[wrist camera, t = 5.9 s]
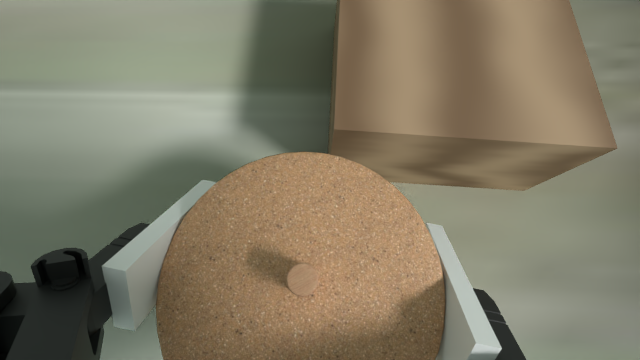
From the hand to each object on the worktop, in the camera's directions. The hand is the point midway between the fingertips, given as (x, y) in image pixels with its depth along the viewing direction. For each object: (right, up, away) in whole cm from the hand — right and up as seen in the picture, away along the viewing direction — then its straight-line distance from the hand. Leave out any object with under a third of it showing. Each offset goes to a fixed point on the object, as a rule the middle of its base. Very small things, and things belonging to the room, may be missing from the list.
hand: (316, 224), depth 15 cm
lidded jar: (-1, -4, +3) cm, 5 cm away
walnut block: (+8, +8, +8) cm, 14 cm away
